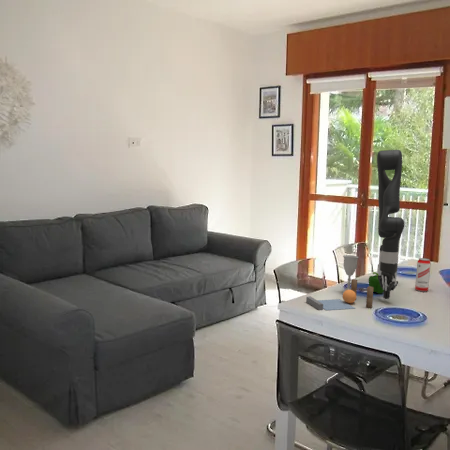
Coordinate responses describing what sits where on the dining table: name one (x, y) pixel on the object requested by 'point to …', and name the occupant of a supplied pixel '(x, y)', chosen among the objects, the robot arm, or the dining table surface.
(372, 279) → the bell pepper
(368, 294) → the post
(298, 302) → the dining table surface
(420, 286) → the beer can
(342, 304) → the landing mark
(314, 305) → the wall
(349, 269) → the chalice
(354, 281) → the post
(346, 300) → the ball
